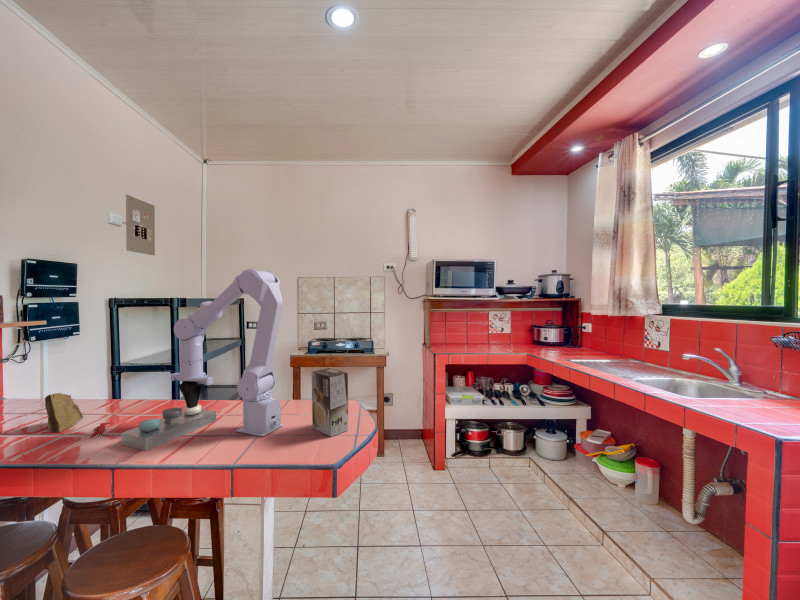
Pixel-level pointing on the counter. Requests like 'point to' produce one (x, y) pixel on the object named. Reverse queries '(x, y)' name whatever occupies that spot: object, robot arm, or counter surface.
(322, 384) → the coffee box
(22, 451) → the counter surface
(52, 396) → the rock
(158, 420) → the button teal
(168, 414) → the button charcoal
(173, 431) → the panel
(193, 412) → the button ivory
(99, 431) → the cayenne pepper
